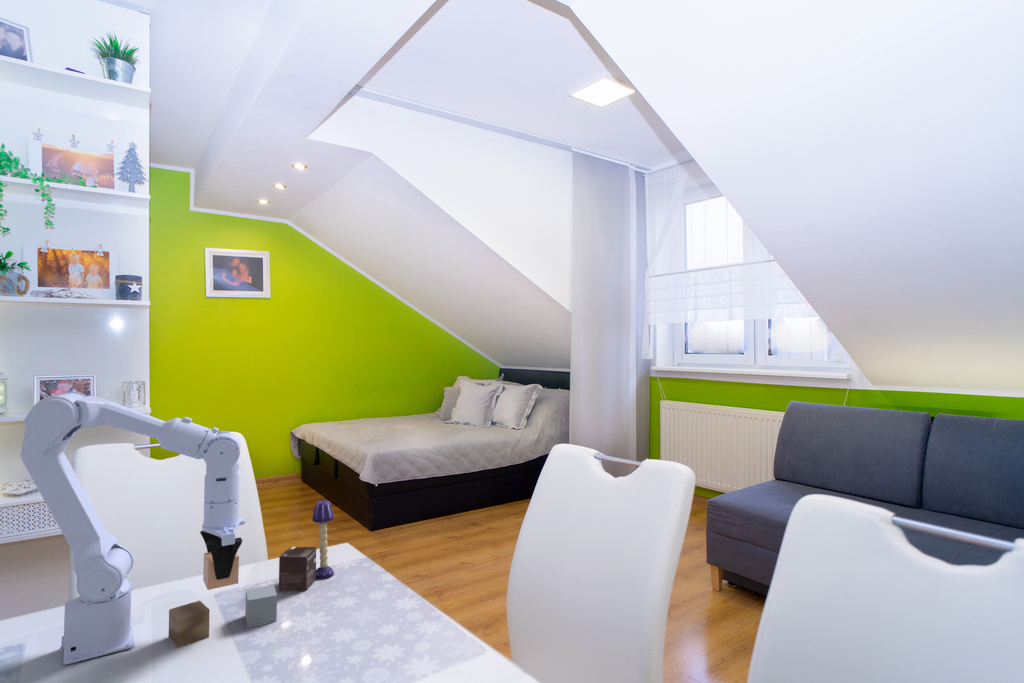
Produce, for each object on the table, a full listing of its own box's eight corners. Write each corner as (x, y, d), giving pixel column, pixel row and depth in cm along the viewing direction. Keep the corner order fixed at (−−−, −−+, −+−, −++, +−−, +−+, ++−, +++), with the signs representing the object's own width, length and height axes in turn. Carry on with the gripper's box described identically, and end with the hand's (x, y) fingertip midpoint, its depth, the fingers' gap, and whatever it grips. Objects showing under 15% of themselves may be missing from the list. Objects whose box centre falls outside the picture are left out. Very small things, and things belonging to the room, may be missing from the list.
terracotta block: (207, 590, 100) (208, 561, 100) (203, 580, 104) (203, 553, 104) (238, 583, 103) (238, 556, 103) (232, 574, 107) (233, 547, 107)
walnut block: (177, 648, 96) (178, 619, 96) (168, 637, 100) (169, 609, 100) (208, 637, 100) (209, 609, 100) (199, 627, 103) (199, 600, 103)
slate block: (247, 627, 104) (247, 600, 104) (245, 616, 108) (245, 589, 108) (276, 621, 106) (277, 595, 106) (273, 610, 110) (273, 584, 111)
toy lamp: (313, 581, 124) (314, 505, 124) (309, 573, 128) (311, 500, 128) (335, 577, 126) (336, 502, 126) (331, 569, 130) (332, 497, 130)
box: (306, 591, 119) (306, 557, 119) (277, 591, 119) (278, 556, 119) (316, 579, 125) (317, 546, 125) (289, 579, 125) (290, 546, 125)
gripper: (254, 505, 100) (252, 581, 100) (237, 487, 112) (235, 555, 112) (209, 511, 96) (208, 591, 96) (196, 492, 108) (195, 563, 108)
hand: (220, 572), depth 104 cm, fingers closed on terracotta block, 5 cm apart
